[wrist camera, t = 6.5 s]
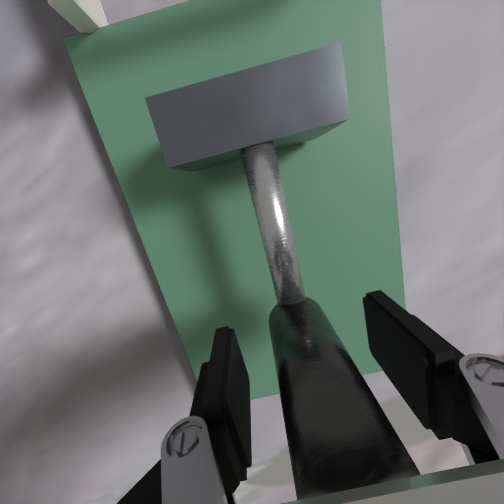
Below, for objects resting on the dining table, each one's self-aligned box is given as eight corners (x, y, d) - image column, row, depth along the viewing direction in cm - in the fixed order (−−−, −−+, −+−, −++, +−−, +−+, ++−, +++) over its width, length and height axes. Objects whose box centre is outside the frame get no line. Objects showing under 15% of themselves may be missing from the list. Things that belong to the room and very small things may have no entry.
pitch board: (398, 351, 20) (410, 364, 19) (210, 393, 21) (208, 409, 19) (361, -30, 13) (376, -55, 12) (81, 53, 14) (61, 38, 12)
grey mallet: (339, 293, 16) (514, 503, 6) (238, 318, 17) (226, 559, 6) (306, 91, 13) (585, -308, 2) (179, 126, 13) (-81, -86, 3)
